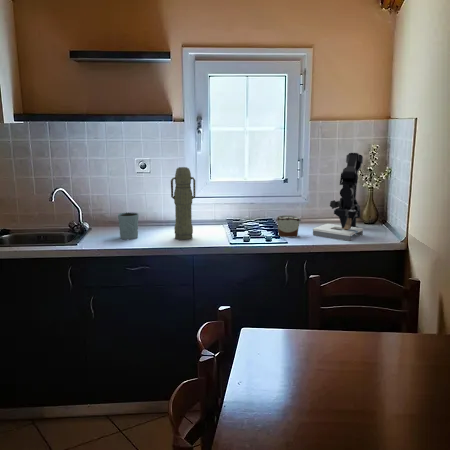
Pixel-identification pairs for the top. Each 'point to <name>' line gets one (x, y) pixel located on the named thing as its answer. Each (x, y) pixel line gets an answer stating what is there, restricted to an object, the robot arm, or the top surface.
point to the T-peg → (347, 224)
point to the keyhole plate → (336, 232)
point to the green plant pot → (128, 225)
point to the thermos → (183, 203)
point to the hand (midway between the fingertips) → (346, 226)
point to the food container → (288, 225)
